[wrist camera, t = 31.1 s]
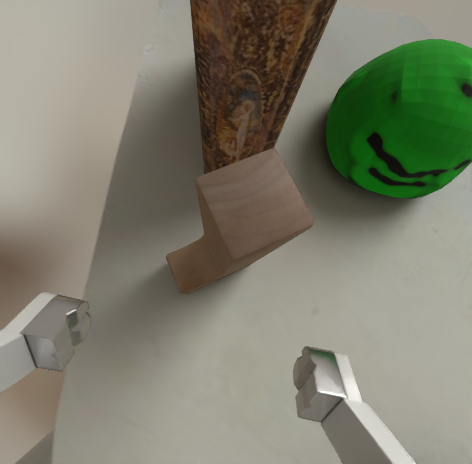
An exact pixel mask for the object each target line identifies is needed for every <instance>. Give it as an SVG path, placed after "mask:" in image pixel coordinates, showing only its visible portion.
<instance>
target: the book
mask: <svg viewBox="0 0 472 464" xmlns="http://www.w3.org/2000/svg"><path fill="white" fill-rule="evenodd" d="M336 2H337V0H190V5H191V17H192V29H193V41H194V52H195V64H196V76H197V88H198V100H199V112H200V124H201V136H202V148H203V160H204V172H205V174H207V173H210V172H212V171H215V170H217V169H220V168H223V167H225V166H228V165H230V164H233V163H235V162H238V161H241V160H243V159H246V158H248V157H251V156H253V155H256V154H259V153H261V152H264V151H266V150H269V149H273V148H274V146H275V144H276V141H277V139H278V137H279V134H280V132H281V130H282V127H283V125H284V123H285V120H286V118H287V116H288V113H289V111H290V109H291V106H292V104H293V102H294V100H295V97H296V95H297V93H298V90H299V88H300V86H301V83H302V81H303V79H304V76H305V74H306V72H307V69H308V67H309V65H310V62H311V60H312V58H313V55H314V53H315V51H316V48H317V46H318V44H319V41H320V39H321V37H322V34H323V32H324V30H325V27H326V25H327V23H328V20H329V18H330V16H331V13H332V11H333V9H334V6H335V4H336Z"/></svg>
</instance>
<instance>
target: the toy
mask: <svg viewBox="0 0 472 464" xmlns="http://www.w3.org/2000/svg"><path fill="white" fill-rule="evenodd" d="M326 141H327V149H328V153H329V156H330V160H331V162H332V163H333V165H334V167H335V168H336V169H337V171H338V172H339V173H340V174H341V175H342V176H344V177H345V178H346V179H347V180H349V181H350V182H352V183H354V184H356V185H358V186H360V187H362V188H364V189H367V190H370V191H373V192H376V193H379V194H383V195H387V196H391V197H395V198H410V199H411V198H417V197H423V196H426V195H428V194H430V193H432V192H435V191H437V190H439V189H441V188H443V187H444V186H445V185H447V184H448V183H449V182H451V181H452V180H453V179H454V178H455V177H457V176H458V175H459V174H460V173H461V172H462V171H463V170H464V169H465V168H466V167H467V166H468V165H469V164H470V163H471V162H472V48H469V47H467V46H465V45H463V44H460V43H457V42H452V41H447V40H443V39H442V40H441V39H428V40H422V41H416V42H412V43H408V44H404V45H401V46H399V47H397V48H395V49H393V50H391V51H389V52H386V53H384V54H382V55H380V56H378V57H377V58H375V59H373V60H371V61H370V62H368V63H367V64H365V65H364V66H362V67H361V68H359V69H358V70H356V71H355V72H354V73H353V74H352V75H351V76H350V77H349V78H348V79H347V80H346V81H345V82H344V84H343V85H342V86H341V87H340V88H339V90H338V92H337V94H336V96H335V98H334V100H333V102H332V104H331V106H330V109H329V113H328V116H327V122H326Z"/></svg>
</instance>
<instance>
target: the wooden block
mask: <svg viewBox="0 0 472 464" xmlns="http://www.w3.org/2000/svg"><path fill="white" fill-rule="evenodd" d="M196 188H197V194H198V200H199V205H200V211H201V217H202V223H203V228H204V235H203V236H202V237H201V238H200V239H199V240H197V241H195V242H193V243H192V244H190V245H188V246H186V247H184V248H182V249H179V250H177V251H175V252H172V253H170V254H168V255H167V256H166V259H167V262H168V264H169V266H170V269H171V271H172V274H173V276H174V278H175V281H176V283H177V286H178V288H179V290H180V293H181V294H188V293H190V292H192V291H195V290H197V289H199V288H201V287H203V286H205V285H207V284H209V283H212V282H214V281H216V280H218V279H220V278H222V277H224V276H227V275H229V274H231V273H233V272H235V271H237V270H239V269H242V268H244V267H246V266H248V265H250V264H252V263H254V262H255V261H257V260H259V259H260V258H262V257H263V256H265V255H267V254H268V253H270V252H272V251H273V250H275V249H277V248H278V247H280V246H281V245H283V244H285V243H286V242H288V241H290V240H291V239H293V238H295V237H296V236H298V235H299V234H301V233H303V232H304V231H306V230H308V229H309V228H311V227H312V225H313V224H314V220H313V218H312V216H311V214H310V212H309V210H308V208H307V206H306V204H305V203H304V201H303V199H302V197H301V195H300V193H299V191H298V189H297V187H296V186H295V184H294V182H293V180H292V178H291V176H290V174H289V172H288V171H287V169H286V167H285V165H284V163H283V161H282V159H281V157H280V155H279V154H278V152H277V150H276V149H275V148H273V149H269V150H266V151H264V152H261V153H259V154H256V155H253V156H251V157H248V158H246V159H243V160H241V161H238V162H235V163H233V164H230V165H228V166H225V167H223V168H220V169H217V170H215V171H212V172H210V173H207V174H205V175H202V176H200V177H198V178H197V179H196Z"/></svg>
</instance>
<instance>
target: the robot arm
mask: <svg viewBox="0 0 472 464" xmlns="http://www.w3.org/2000/svg"><path fill="white" fill-rule="evenodd" d="M88 309H89V303H88V301H84V300H79V299H74V298H70V297H66V296H61V295H57V294H52V293H47V292H42V293H41V294H39V295H37V296H36V297H35V298H34V299H33V300H32V301H31V302H30V303H29V304H28V305H27V306H26V307H25V308H24V309H23V310H22V311H21V312H20V313H19V314H18V315H17V316H16V317H15V318H14V319H13V320H12V321H11V322H10V323H9V324H7V326H6V327H5V328H3V329H2V330H0V394H1V393H2V392H4V391H5V390H7V389H8V388H9V387H11V386H12V385H14V384H15V383H17V382H18V381H19V380H21V379H22V378H24V377H25V376H27V375H28V374H30V373H31V372H33V371H34V370H36V368H43V369H48V370H55V371H61V372H62V371H63V369H64V368H65V367H66V365H67V364H68V362H69V361H70V359H71V358H72V356H73V355H74V346H76V345H78V344H79V343H81V342H82V341H83V340H84V338H85V337H86V335H87V333H88V331H89V328H90V325H91V316H90V315H89V314H88V313H87V311H88ZM293 379H294V385H295V386H296V388H297V389H298V391H299V392H298V394H297V395H296V405H297V414H298V418H303V419H307V420H312V421H316V422H321V426H322V427H323V429H324V431H325V433H326V435H327V436H328V438H329V440H330V442H331V444H332V445H333V447H334V449H335V451H336V453H337V454H338V456H339V458H340V460H341V462H342V463H343V464H416V462H415V461H414V460H413V459H412V458H411V456H410V455H409V454H408V453H407V451H406V450H405V449H404V448H403V447H402V445H401V444H400V443H399V442H398V440H397V439H396V438H395V437H394V436H393V434H392V433H391V432H390V431H389V429H388V428H387V427H386V426H385V425H384V423H383V422H382V421H381V420H380V418H379V417H378V416H377V415H376V414H375V412H374V411H373V410H372V409H371V407H370V406H369V405H368V404H367V403H365V402H363V401H362V398H361V395H360V392H359V389H358V386H357V383H356V380H355V377H354V374H353V371H352V368H351V365H350V362H349V359H348V357H347V355H346V354H343V353H337V352H332V351H329V350H324V349H319V348H313V347H308V346H306V347H304V348H303V350H302V356H301V357H299V358H297V360H296V362H295V365H294V370H293Z"/></svg>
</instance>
